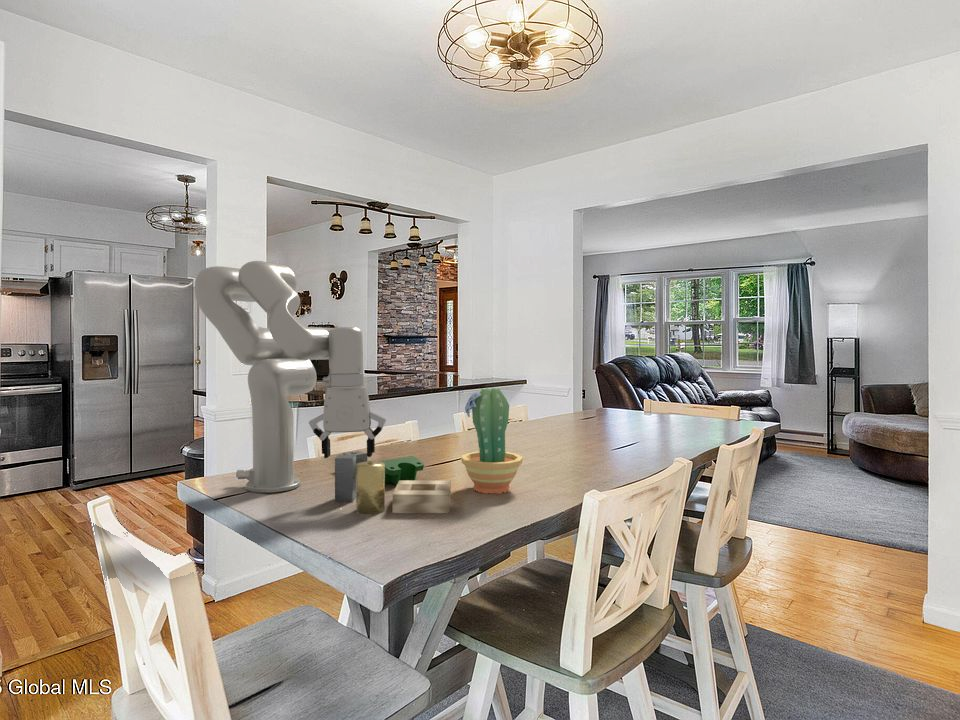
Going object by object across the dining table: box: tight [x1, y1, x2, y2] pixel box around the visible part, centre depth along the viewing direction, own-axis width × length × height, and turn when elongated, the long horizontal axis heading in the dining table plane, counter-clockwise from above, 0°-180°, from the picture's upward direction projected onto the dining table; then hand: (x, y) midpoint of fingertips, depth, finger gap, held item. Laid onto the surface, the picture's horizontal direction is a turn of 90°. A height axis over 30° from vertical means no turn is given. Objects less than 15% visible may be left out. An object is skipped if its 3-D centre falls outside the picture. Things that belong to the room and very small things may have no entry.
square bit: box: [334, 454, 356, 503], centre depth 132 cm, size 4×4×10 cm
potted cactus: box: [460, 387, 524, 495], centre depth 142 cm, size 15×15×25 cm
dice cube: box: [342, 450, 368, 464], centre depth 161 cm, size 5×5×5 cm
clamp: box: [377, 455, 425, 487], centre depth 148 cm, size 12×6×9 cm, turn 126°
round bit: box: [355, 460, 386, 515], centre depth 124 cm, size 6×6×10 cm
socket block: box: [392, 479, 452, 514], centre depth 128 cm, size 12×12×4 cm
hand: (348, 456), depth 131 cm, fingers open, 9 cm apart
